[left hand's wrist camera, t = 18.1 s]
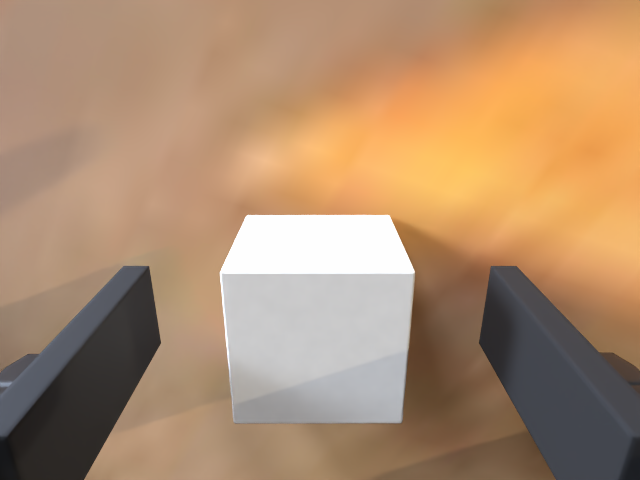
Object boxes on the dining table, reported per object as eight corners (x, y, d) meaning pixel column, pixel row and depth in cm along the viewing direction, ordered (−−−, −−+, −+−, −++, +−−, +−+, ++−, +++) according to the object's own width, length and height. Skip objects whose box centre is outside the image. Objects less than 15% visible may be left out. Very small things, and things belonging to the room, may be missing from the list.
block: (382, 336, 16) (402, 424, 12) (254, 336, 16) (233, 424, 12) (389, 214, 14) (415, 271, 11) (246, 214, 14) (219, 271, 10)
